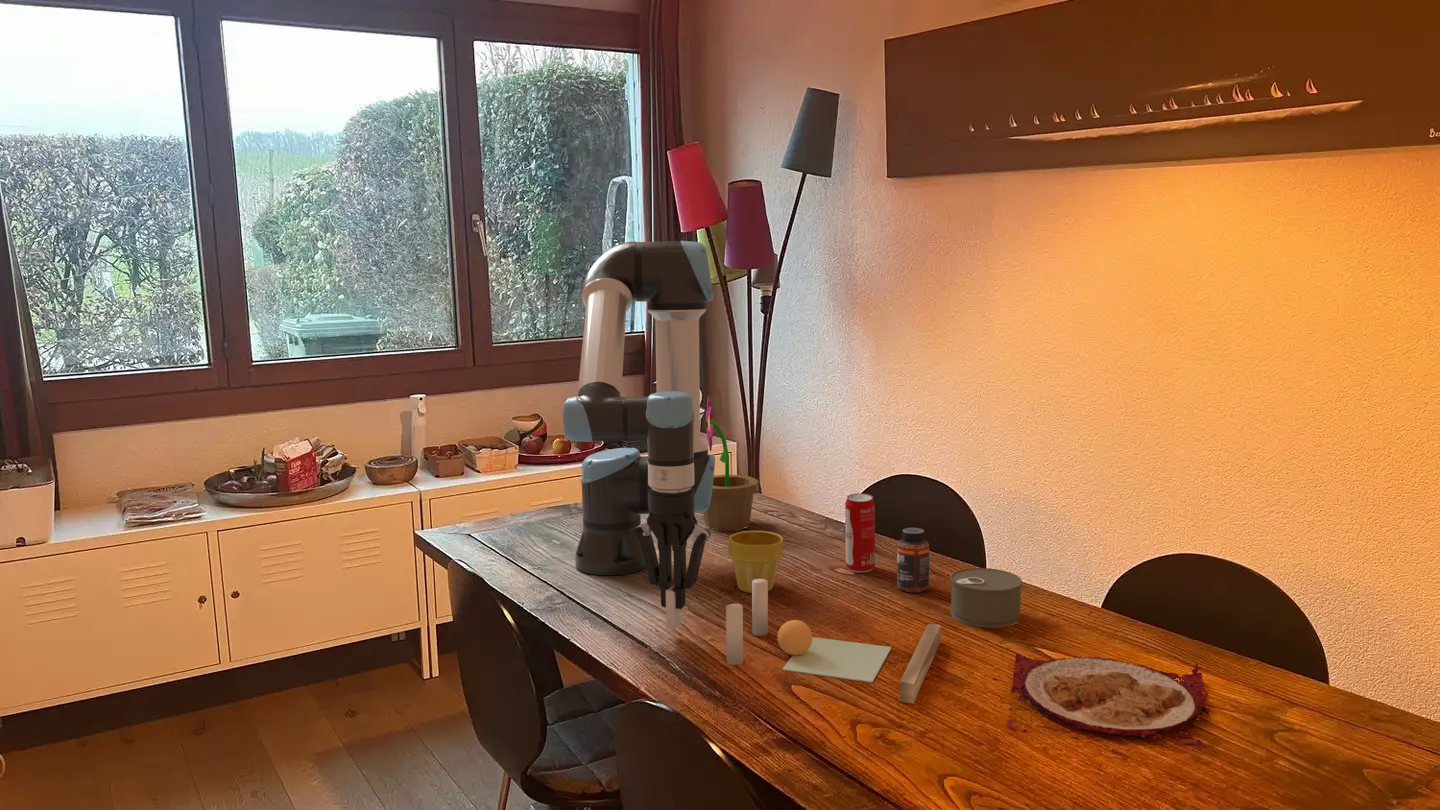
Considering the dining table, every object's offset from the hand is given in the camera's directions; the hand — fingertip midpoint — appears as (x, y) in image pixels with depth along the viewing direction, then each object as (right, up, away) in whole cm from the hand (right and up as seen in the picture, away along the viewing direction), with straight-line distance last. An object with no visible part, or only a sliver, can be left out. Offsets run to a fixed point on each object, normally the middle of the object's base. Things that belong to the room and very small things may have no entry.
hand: (673, 625), depth 175 cm
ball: (+20, 0, -8) cm, 21 cm away
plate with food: (+63, -6, -26) cm, 68 cm away
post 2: (+14, -1, +2) cm, 15 cm away
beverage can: (+35, +4, +35) cm, 50 cm away
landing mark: (+26, -3, -9) cm, 28 cm away
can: (+54, 0, +9) cm, 55 cm away
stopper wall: (+38, -4, -14) cm, 41 cm away
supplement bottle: (+44, +2, +23) cm, 50 cm away
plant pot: (+15, +2, +25) cm, 29 cm away
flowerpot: (+9, +9, +67) cm, 69 cm away
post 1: (+10, -3, -10) cm, 15 cm away
